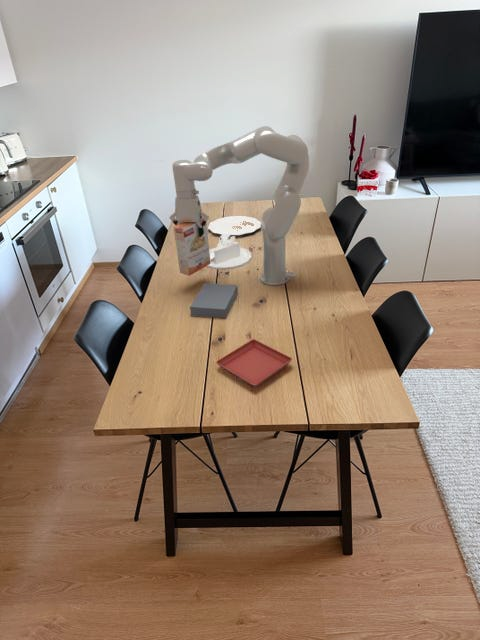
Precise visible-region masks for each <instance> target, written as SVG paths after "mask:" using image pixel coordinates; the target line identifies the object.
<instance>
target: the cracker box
mask: <svg viewBox="0 0 480 640" xmlns="http://www.w3.org/2000/svg"><path fill="white" fill-rule="evenodd" d="M201 220H202V222H203V221H204V218H203V217H202V219H201ZM207 225H208V223H207V222H206V224H205V225H204V226H203V229H204V234H203V236H202V237H199V230H198V228H199V226H198V224H197V223H196V222H182V223H181V224H178V225H174V226H173V232H174V239H175V247H176V254H177V260H178V268H179V273H180V274H182V275H186V276H191V275H193V274H195V273H197V272H199V271H200V270H203V268H207V267H206V266H207V265H209V264H211V262H210V252H209V250H210V244H209V235H208V233H209V232H208V226H207Z"/></svg>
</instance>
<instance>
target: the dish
mask: <svg viewBox="0 0 480 640" xmlns="http://www.w3.org/2000/svg"><path fill="white" fill-rule="evenodd" d="M219 238H220V239H219V241H218V243H217V245H216V247H214V248H209V252H210V262H211V264H209V265H207V266H206V267H205V268H209V269H213V270H232V269H237V268H241V267H244V266H245V265H247V264H249V263H250V261H251V260H252V252H250V251H249V250H248V249H246V248H244V247H242V246H241V245H240V244H241V243H240V242H237V241H235V240H236V237H235V236H232V237H230V235H228V234H223V235H219Z"/></svg>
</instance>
